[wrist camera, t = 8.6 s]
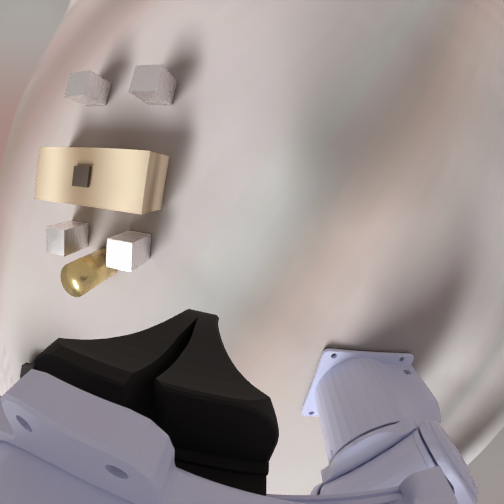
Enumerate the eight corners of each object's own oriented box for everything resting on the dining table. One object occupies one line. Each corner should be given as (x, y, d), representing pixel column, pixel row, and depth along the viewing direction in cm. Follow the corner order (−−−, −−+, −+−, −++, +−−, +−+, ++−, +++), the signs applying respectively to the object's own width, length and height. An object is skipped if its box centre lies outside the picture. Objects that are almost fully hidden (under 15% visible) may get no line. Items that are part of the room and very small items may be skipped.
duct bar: (170, 156, 20) (148, 150, 15) (162, 209, 21) (139, 215, 16) (68, 150, 20) (37, 147, 15) (63, 195, 20) (31, 199, 16)
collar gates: (177, 81, 18) (162, 64, 15) (149, 259, 21) (130, 272, 18) (93, 84, 18) (70, 73, 15) (70, 242, 21) (46, 251, 18)
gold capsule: (118, 250, 21) (85, 267, 16) (118, 278, 22) (86, 300, 17) (95, 245, 21) (59, 260, 16) (94, 272, 22) (61, 292, 17)
